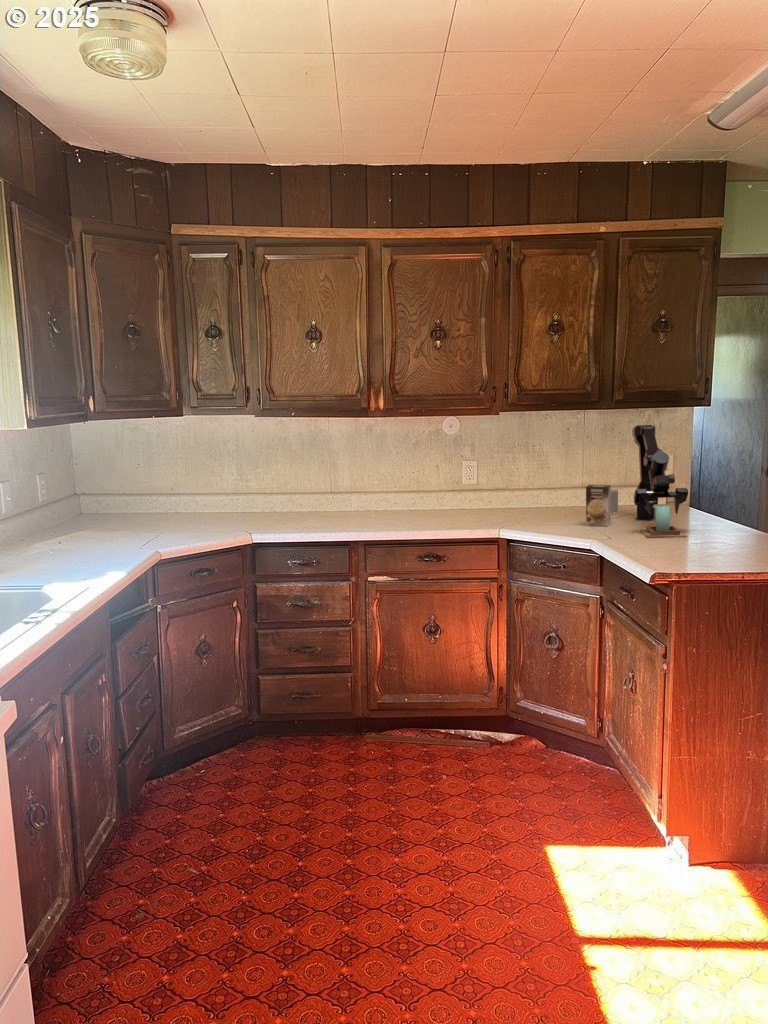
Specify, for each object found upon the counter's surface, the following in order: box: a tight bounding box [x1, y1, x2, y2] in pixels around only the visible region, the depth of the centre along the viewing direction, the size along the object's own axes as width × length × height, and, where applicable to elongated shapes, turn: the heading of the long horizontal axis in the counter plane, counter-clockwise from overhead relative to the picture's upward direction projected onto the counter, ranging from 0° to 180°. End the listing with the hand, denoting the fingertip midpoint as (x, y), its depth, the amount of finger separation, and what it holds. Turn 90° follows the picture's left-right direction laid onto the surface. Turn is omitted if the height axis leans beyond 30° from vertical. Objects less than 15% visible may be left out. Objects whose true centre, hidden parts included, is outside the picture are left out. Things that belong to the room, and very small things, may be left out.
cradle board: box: [639, 525, 688, 539], centre depth 285 cm, size 14×14×2 cm
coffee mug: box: [610, 488, 619, 513], centre depth 341 cm, size 13×10×10 cm
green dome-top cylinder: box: [655, 504, 671, 531], centre depth 285 cm, size 5×5×10 cm
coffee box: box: [585, 484, 612, 527], centre depth 309 cm, size 9×6×16 cm
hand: (663, 513), depth 283 cm, fingers open, 9 cm apart
